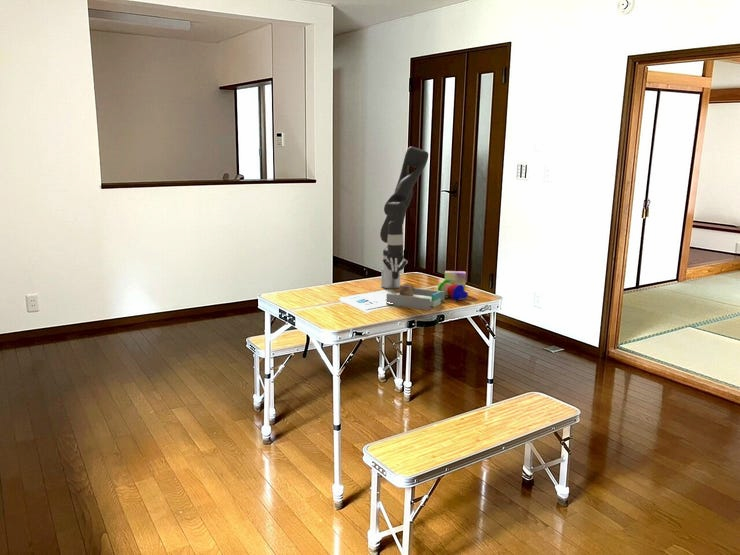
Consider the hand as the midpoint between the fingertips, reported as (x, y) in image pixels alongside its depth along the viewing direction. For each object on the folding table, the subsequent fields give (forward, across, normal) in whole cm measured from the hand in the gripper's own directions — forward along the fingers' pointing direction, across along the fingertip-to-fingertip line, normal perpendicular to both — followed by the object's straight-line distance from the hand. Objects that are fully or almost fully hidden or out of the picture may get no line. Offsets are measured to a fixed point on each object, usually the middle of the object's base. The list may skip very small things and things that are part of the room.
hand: (395, 278), depth 301 cm
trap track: (+11, +11, -1) cm, 15 cm away
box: (+11, +22, +24) cm, 34 cm away
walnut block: (+8, +6, -1) cm, 10 cm away
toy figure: (+11, +24, +14) cm, 30 cm away
